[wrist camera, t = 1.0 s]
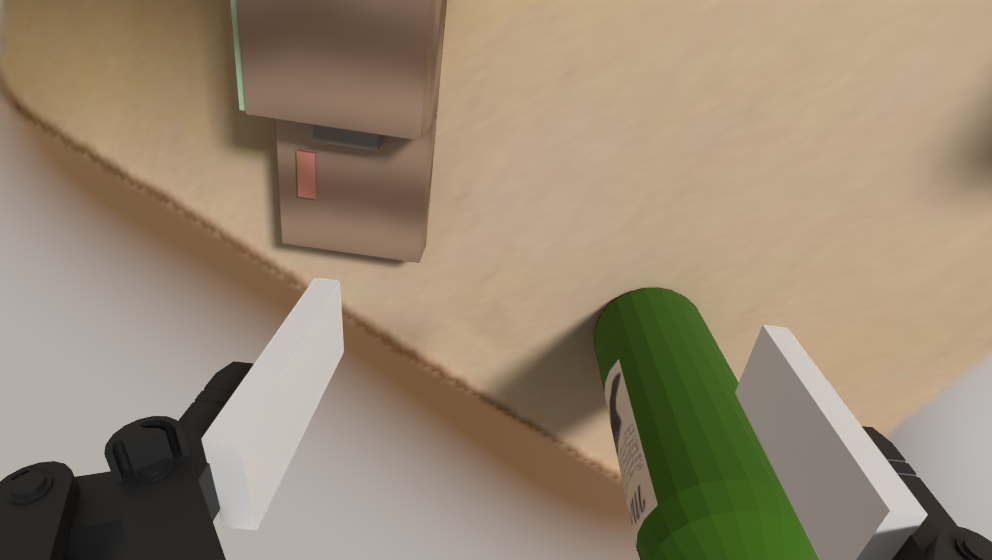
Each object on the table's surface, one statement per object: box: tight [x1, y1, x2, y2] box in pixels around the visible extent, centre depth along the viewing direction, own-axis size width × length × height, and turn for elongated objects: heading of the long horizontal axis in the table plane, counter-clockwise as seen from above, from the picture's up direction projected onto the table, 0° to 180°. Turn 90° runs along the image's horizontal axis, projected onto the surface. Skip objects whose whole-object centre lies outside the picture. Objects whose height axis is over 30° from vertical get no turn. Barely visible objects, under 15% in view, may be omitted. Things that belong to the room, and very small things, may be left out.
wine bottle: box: [594, 288, 819, 560], centre depth 30 cm, size 9×9×32 cm
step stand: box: [230, 0, 447, 263], centre depth 34 cm, size 20×10×7 cm, turn 172°
